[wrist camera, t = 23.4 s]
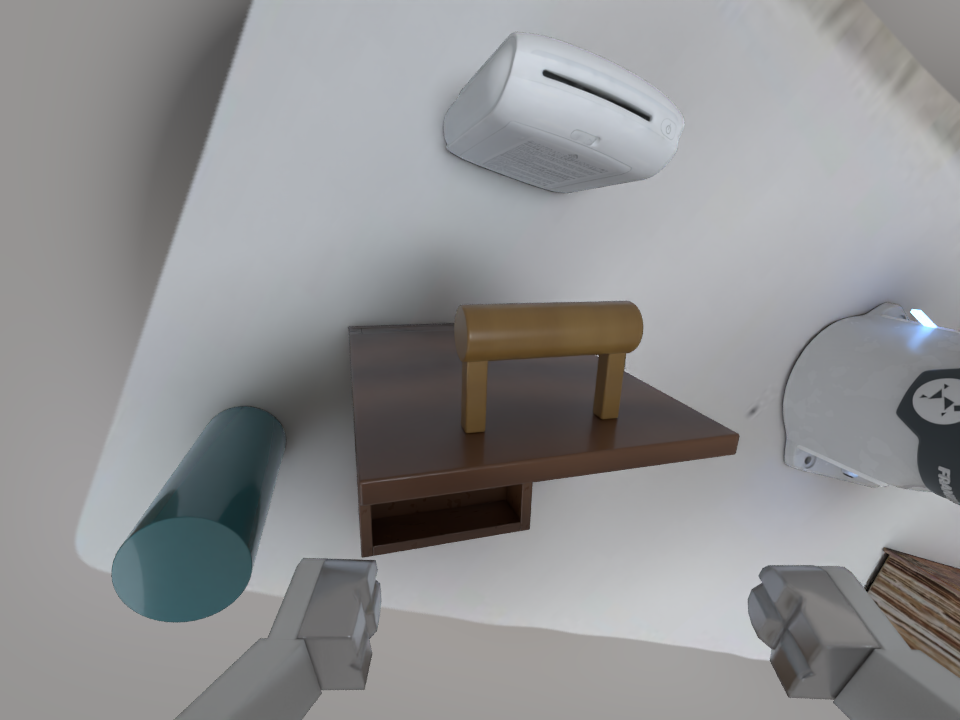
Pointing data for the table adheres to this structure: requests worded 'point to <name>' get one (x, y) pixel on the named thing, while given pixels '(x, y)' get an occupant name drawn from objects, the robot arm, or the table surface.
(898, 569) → the book
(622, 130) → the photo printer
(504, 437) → the lid
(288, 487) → the table surface
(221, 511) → the canister
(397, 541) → the chest
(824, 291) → the table surface
